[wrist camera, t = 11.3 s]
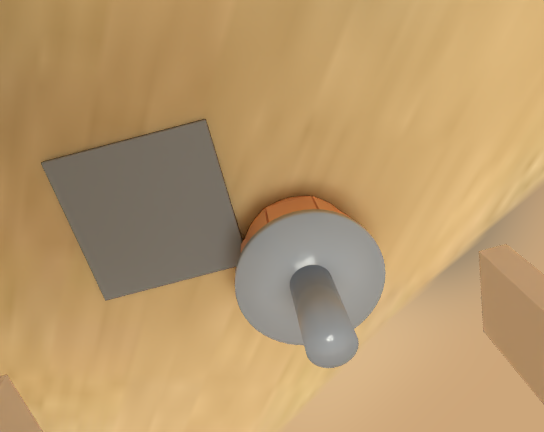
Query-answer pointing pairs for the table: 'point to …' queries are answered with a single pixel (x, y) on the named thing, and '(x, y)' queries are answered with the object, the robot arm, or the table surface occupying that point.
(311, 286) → the lid
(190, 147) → the mat
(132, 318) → the table surface
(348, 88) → the table surface
